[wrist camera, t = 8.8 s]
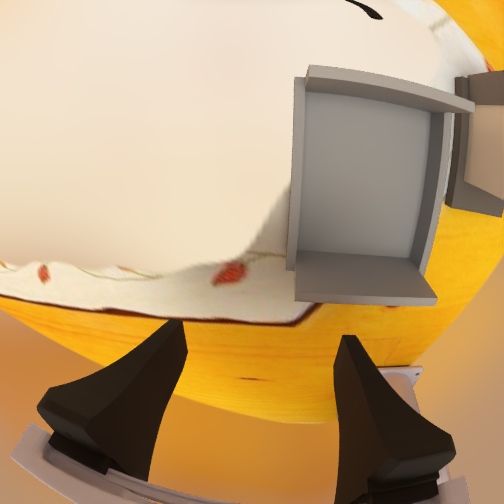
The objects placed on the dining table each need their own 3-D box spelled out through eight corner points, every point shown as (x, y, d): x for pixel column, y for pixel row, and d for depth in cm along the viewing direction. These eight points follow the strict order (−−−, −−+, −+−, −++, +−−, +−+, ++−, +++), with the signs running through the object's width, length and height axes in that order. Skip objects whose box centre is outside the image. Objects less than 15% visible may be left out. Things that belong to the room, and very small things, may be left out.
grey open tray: (411, 262, 20) (442, 306, 14) (286, 253, 21) (283, 300, 16) (434, 106, 15) (482, 105, 9) (294, 83, 16) (295, 63, 10)
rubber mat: (495, 213, 17) (501, 217, 16) (445, 203, 17) (451, 207, 16) (506, 101, 12) (513, 101, 12) (454, 77, 13) (461, 76, 12)
